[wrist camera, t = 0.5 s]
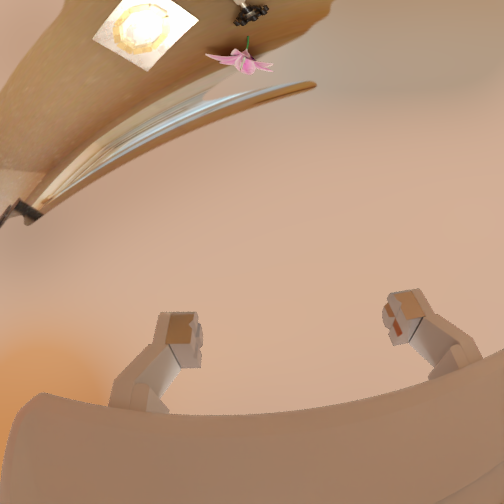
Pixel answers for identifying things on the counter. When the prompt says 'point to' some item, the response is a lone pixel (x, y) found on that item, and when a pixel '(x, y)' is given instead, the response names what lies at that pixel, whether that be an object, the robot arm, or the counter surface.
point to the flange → (144, 29)
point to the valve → (249, 12)
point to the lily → (242, 61)
